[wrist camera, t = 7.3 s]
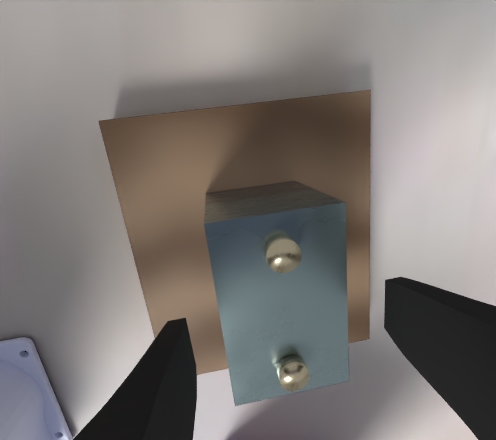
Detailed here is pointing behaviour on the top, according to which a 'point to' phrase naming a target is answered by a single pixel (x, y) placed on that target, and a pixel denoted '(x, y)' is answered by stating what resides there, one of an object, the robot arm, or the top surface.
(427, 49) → the top surface
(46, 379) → the robot arm
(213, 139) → the stand
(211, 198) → the housing
